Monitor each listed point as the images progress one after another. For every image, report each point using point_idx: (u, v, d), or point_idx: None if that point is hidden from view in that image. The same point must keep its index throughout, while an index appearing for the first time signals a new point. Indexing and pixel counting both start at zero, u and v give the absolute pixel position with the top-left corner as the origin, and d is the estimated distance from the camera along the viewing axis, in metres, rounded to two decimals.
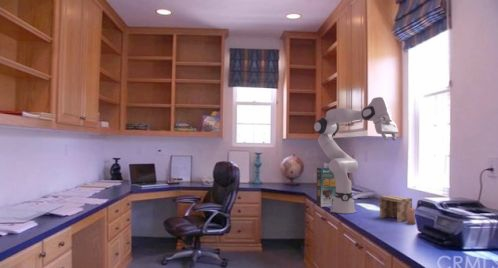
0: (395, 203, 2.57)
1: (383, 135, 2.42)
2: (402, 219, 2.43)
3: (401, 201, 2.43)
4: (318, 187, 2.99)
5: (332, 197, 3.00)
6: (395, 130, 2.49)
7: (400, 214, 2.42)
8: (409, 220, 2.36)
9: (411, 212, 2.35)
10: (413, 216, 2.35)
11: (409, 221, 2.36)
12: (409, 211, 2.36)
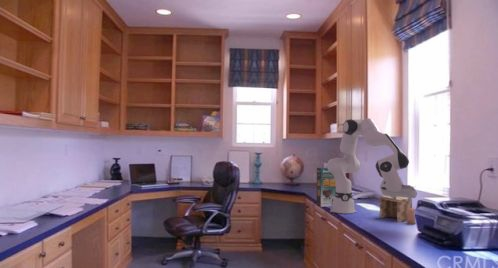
0: (395, 203, 2.57)
1: None
2: (402, 219, 2.43)
3: (401, 201, 2.43)
4: (318, 187, 2.99)
5: (332, 197, 3.00)
6: (408, 196, 2.21)
7: (400, 214, 2.42)
8: (409, 220, 2.36)
9: (411, 212, 2.35)
10: (413, 216, 2.35)
11: (409, 221, 2.36)
12: (409, 211, 2.36)
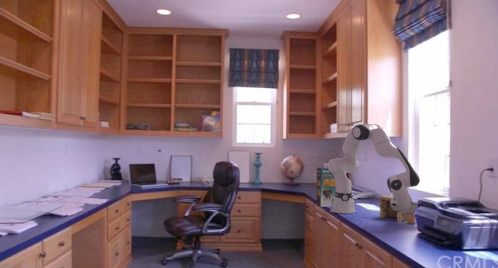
0: None
1: None
2: (402, 219, 2.43)
3: None
4: (318, 187, 2.99)
5: (332, 197, 3.00)
6: None
7: (400, 214, 2.42)
8: (409, 220, 2.36)
9: None
10: (413, 216, 2.35)
11: (409, 221, 2.36)
12: None
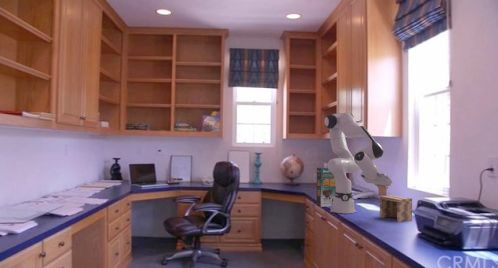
0: (395, 203, 2.57)
1: None
2: (402, 219, 2.43)
3: (401, 201, 2.43)
4: (318, 187, 2.99)
5: (332, 197, 3.00)
6: (384, 184, 2.38)
7: (400, 214, 2.42)
8: (379, 192, 2.45)
9: None
10: (383, 188, 2.44)
11: (379, 192, 2.45)
12: None
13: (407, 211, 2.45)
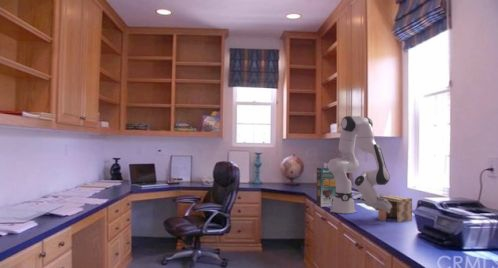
0: (395, 203, 2.57)
1: None
2: (402, 219, 2.43)
3: (401, 201, 2.43)
4: (318, 187, 2.99)
5: (332, 197, 3.00)
6: (384, 208, 2.38)
7: (400, 214, 2.42)
8: (379, 217, 2.45)
9: (381, 209, 2.44)
10: (383, 213, 2.44)
11: (379, 218, 2.45)
12: (379, 208, 2.45)
13: (407, 211, 2.45)
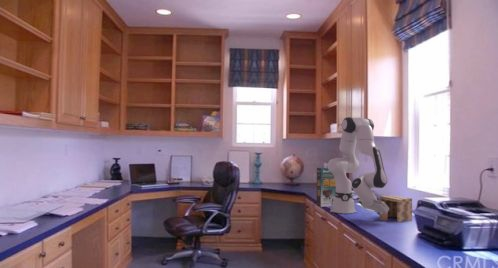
0: (395, 203, 2.57)
1: None
2: (402, 219, 2.43)
3: (401, 201, 2.43)
4: (318, 187, 2.99)
5: (332, 197, 3.00)
6: (381, 211, 2.37)
7: (400, 214, 2.42)
8: (381, 217, 2.45)
9: None
10: (384, 213, 2.44)
11: (381, 218, 2.45)
12: None
13: (407, 211, 2.45)
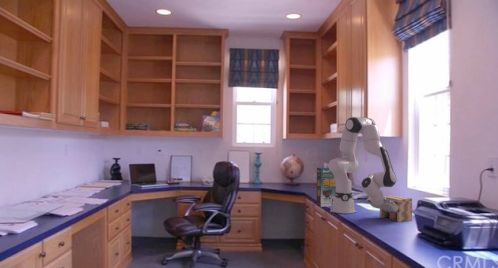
0: (395, 203, 2.57)
1: None
2: (402, 219, 2.43)
3: (401, 201, 2.43)
4: (318, 187, 2.99)
5: (332, 197, 3.00)
6: (390, 210, 2.41)
7: (400, 214, 2.42)
8: (390, 216, 2.49)
9: None
10: (394, 212, 2.48)
11: (390, 217, 2.49)
12: None
13: (407, 211, 2.45)
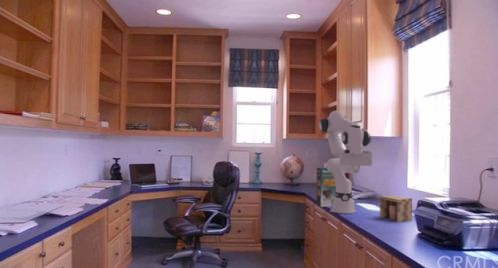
0: (395, 203, 2.57)
1: (351, 167, 2.38)
2: (402, 219, 2.43)
3: (401, 201, 2.43)
4: (318, 187, 2.99)
5: (332, 197, 3.00)
6: (366, 163, 2.36)
7: (400, 214, 2.42)
8: (390, 216, 2.49)
9: (392, 208, 2.48)
10: (394, 212, 2.48)
11: (390, 217, 2.49)
12: (390, 207, 2.49)
13: (407, 211, 2.45)
